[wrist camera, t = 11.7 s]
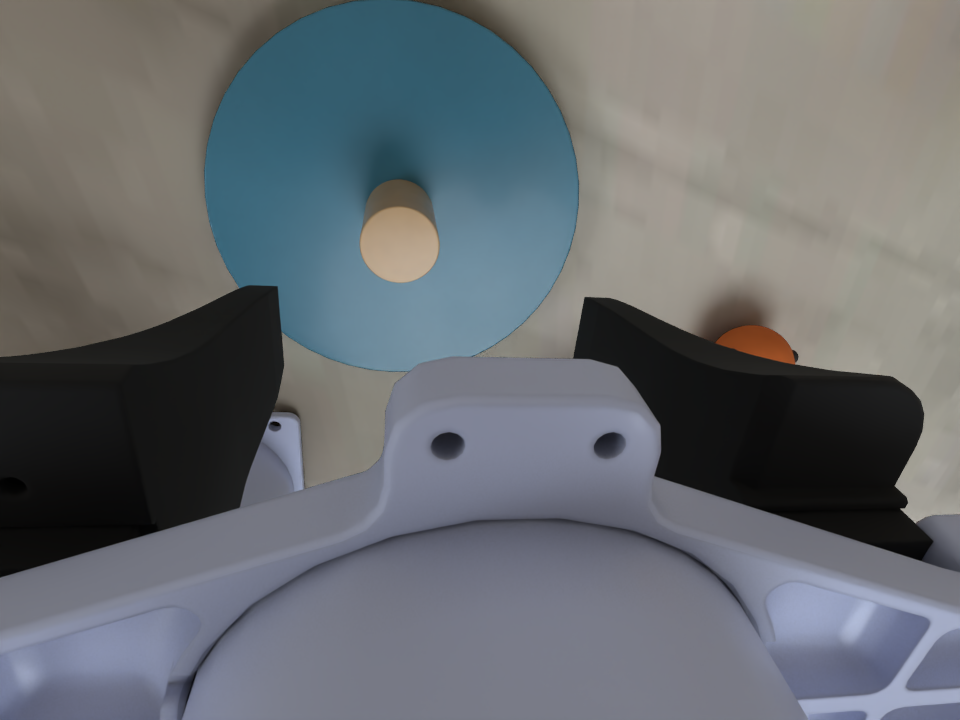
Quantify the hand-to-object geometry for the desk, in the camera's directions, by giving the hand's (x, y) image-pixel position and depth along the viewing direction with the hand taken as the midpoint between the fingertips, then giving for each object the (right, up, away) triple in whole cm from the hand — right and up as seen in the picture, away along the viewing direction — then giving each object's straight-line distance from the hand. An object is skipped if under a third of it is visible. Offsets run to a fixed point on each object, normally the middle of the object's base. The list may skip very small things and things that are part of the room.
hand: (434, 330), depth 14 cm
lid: (-2, +5, +7) cm, 9 cm away
